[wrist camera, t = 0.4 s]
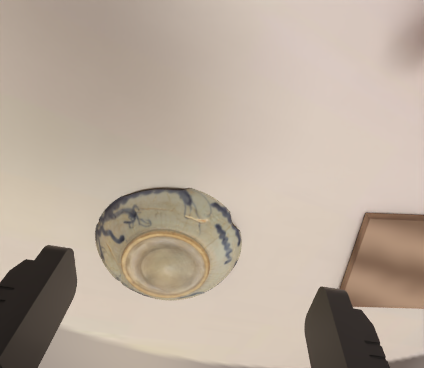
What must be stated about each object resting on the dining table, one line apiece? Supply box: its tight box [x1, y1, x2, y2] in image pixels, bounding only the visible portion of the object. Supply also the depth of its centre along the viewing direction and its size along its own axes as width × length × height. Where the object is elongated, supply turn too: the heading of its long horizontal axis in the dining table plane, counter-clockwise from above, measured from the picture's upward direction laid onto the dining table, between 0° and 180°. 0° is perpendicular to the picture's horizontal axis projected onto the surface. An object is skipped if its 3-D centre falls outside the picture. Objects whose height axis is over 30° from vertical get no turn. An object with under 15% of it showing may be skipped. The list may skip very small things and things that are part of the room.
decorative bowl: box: [95, 188, 242, 300], centre depth 33 cm, size 15×4×15 cm
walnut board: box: [340, 213, 424, 309], centre depth 35 cm, size 12×12×1 cm
